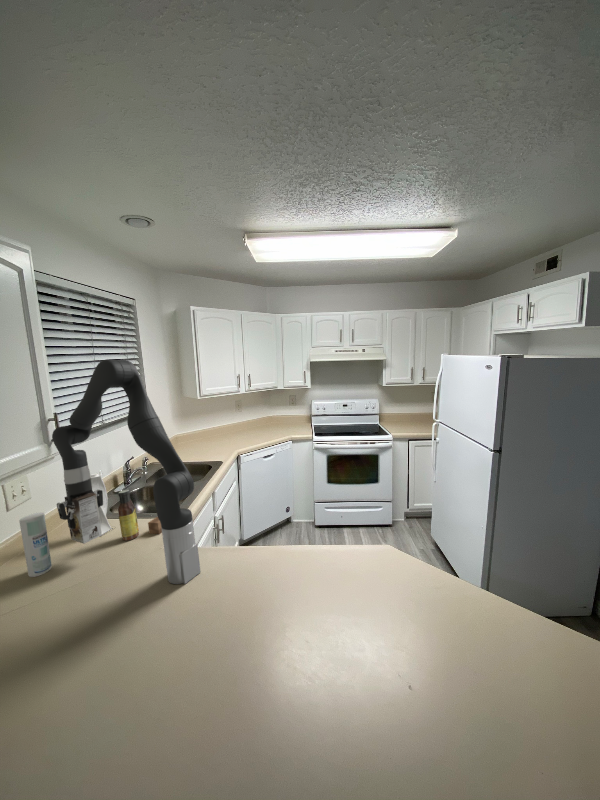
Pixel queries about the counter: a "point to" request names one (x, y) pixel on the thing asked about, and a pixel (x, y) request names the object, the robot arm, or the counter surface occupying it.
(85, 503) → the coffee box
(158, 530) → the walnut block
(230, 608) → the counter surface
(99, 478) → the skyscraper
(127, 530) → the sauce bottle
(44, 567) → the spray can
